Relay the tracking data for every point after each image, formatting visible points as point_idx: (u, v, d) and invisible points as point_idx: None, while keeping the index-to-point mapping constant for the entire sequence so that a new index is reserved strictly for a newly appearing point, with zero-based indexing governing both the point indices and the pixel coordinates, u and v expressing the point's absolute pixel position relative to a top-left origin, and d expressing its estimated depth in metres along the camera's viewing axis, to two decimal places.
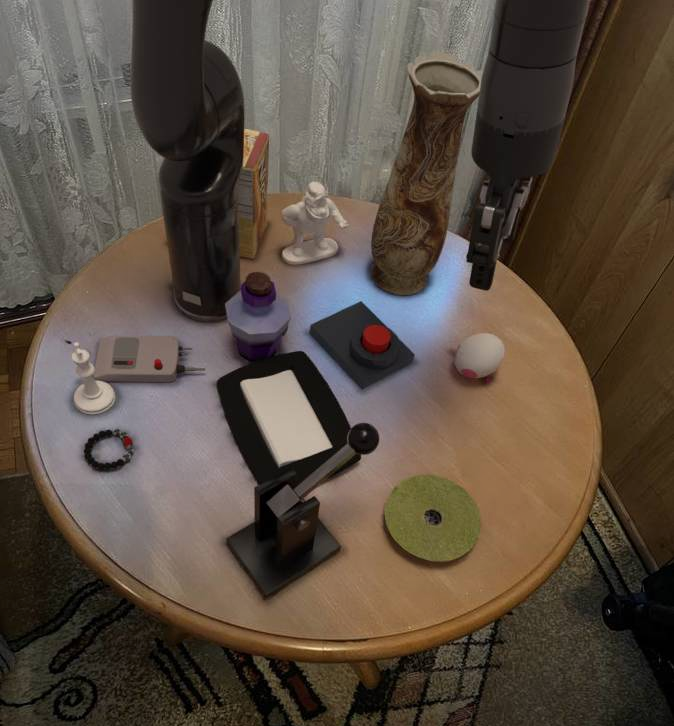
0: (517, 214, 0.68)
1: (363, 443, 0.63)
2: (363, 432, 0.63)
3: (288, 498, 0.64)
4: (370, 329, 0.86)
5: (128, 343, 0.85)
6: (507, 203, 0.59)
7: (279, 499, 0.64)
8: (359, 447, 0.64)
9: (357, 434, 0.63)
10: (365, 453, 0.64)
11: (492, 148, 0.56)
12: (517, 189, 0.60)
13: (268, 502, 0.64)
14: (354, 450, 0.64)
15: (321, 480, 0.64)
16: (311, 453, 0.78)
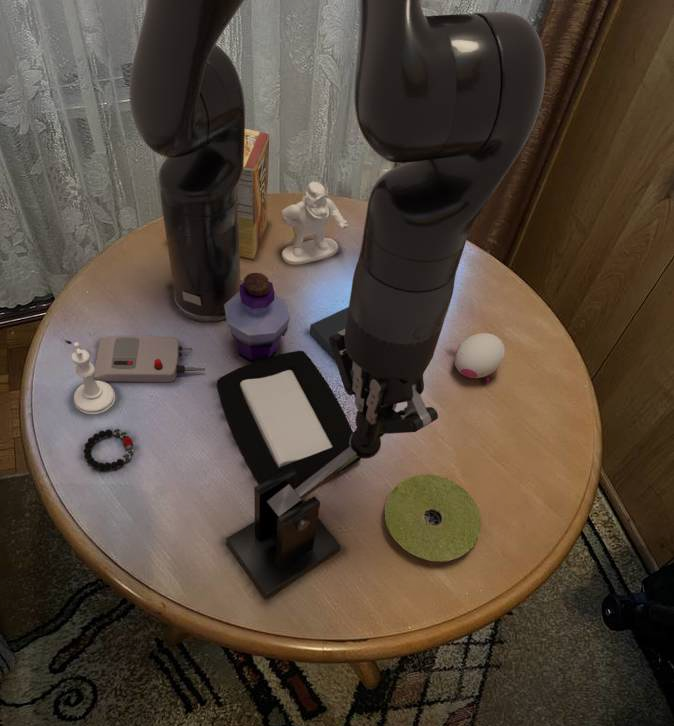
0: (365, 417, 0.61)
1: (366, 446, 0.64)
2: None
3: (289, 497, 0.64)
4: None
5: (128, 343, 0.85)
6: None
7: (280, 498, 0.64)
8: (362, 450, 0.65)
9: (360, 437, 0.64)
10: (367, 457, 0.65)
11: None
12: None
13: (269, 501, 0.64)
14: (356, 453, 0.65)
15: (322, 481, 0.65)
16: (311, 453, 0.78)
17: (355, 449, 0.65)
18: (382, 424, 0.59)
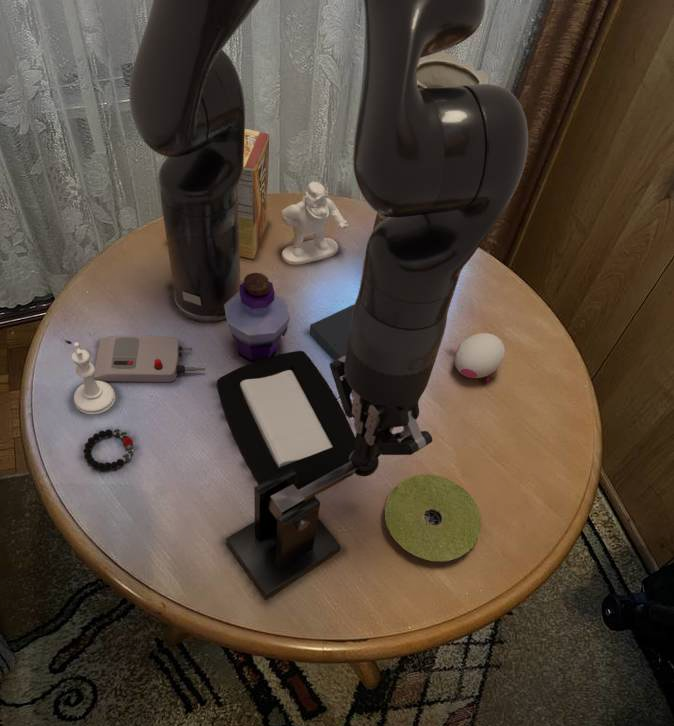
0: (364, 438, 0.65)
1: (368, 462, 0.68)
2: None
3: (293, 496, 0.64)
4: None
5: (128, 343, 0.85)
6: None
7: (284, 495, 0.64)
8: (363, 465, 0.68)
9: None
10: (365, 473, 0.68)
11: None
12: None
13: (272, 496, 0.64)
14: (357, 468, 0.68)
15: (323, 488, 0.66)
16: (311, 453, 0.78)
17: (357, 464, 0.68)
18: (380, 446, 0.62)
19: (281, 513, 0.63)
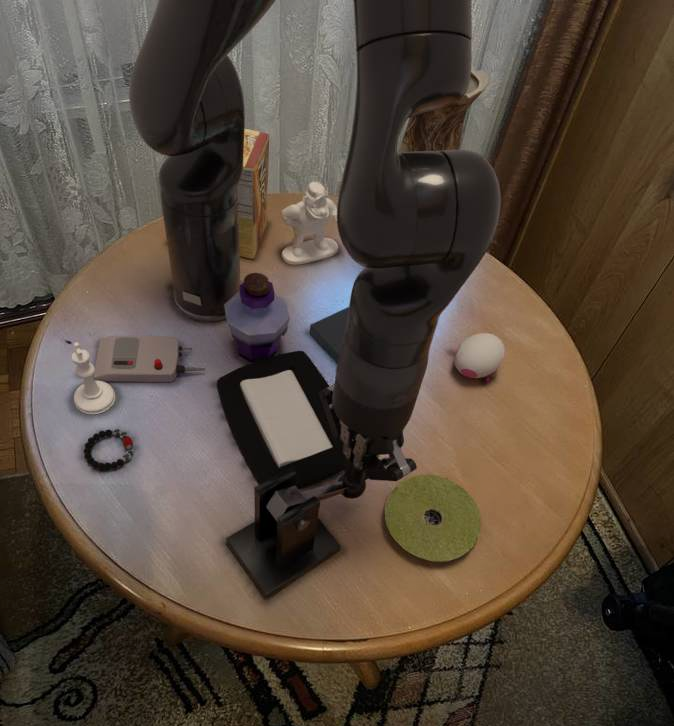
0: (352, 463, 0.67)
1: None
2: None
3: (297, 496, 0.64)
4: None
5: (128, 343, 0.85)
6: None
7: (288, 493, 0.64)
8: (355, 485, 0.70)
9: None
10: (354, 494, 0.71)
11: None
12: None
13: (277, 492, 0.63)
14: (348, 487, 0.71)
15: (318, 498, 0.67)
16: (311, 453, 0.78)
17: (348, 483, 0.70)
18: (367, 471, 0.65)
19: (285, 509, 0.63)
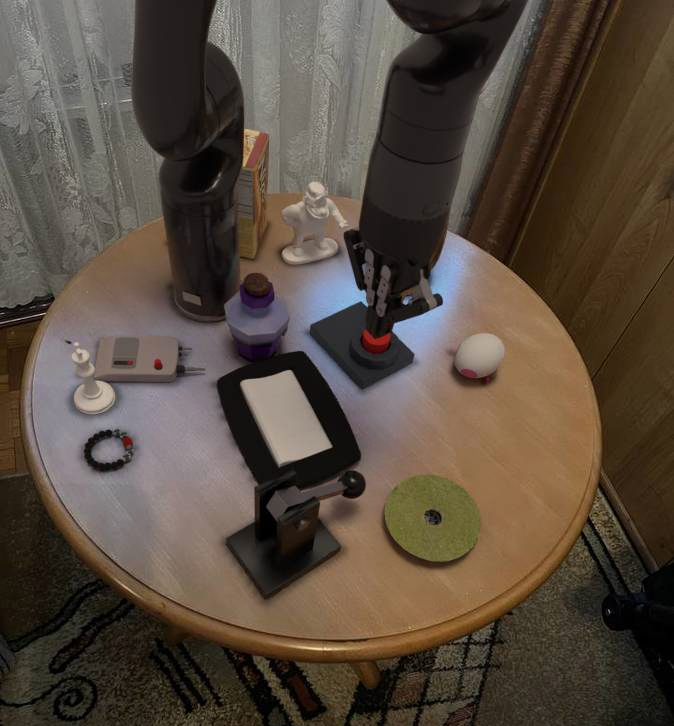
0: (375, 311, 0.66)
1: (359, 483, 0.71)
2: (360, 475, 0.71)
3: (297, 496, 0.64)
4: None
5: (128, 343, 0.85)
6: None
7: (288, 493, 0.64)
8: (355, 485, 0.70)
9: (355, 474, 0.71)
10: (354, 494, 0.71)
11: None
12: None
13: (277, 492, 0.63)
14: (348, 487, 0.71)
15: (318, 498, 0.67)
16: (311, 453, 0.78)
17: (348, 483, 0.70)
18: (391, 314, 0.63)
19: (285, 509, 0.63)
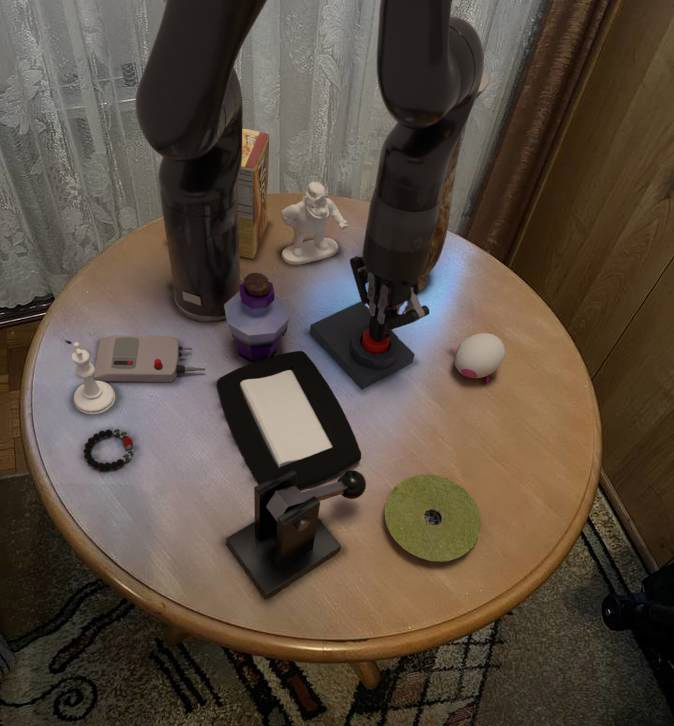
0: (376, 320, 0.83)
1: (359, 483, 0.71)
2: (360, 475, 0.71)
3: (297, 496, 0.64)
4: None
5: (128, 343, 0.85)
6: None
7: (288, 493, 0.64)
8: (355, 485, 0.70)
9: (355, 474, 0.71)
10: (354, 494, 0.71)
11: None
12: None
13: (277, 492, 0.63)
14: (348, 487, 0.71)
15: (318, 498, 0.67)
16: (311, 453, 0.78)
17: (348, 483, 0.70)
18: (389, 322, 0.80)
19: (285, 509, 0.63)
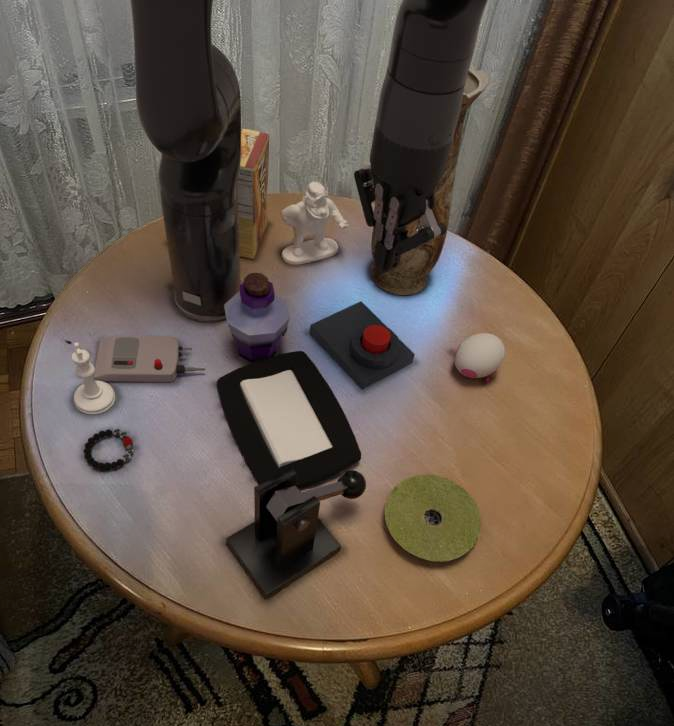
0: (383, 245, 0.72)
1: (359, 483, 0.71)
2: (360, 475, 0.71)
3: (297, 496, 0.64)
4: (370, 329, 0.86)
5: (128, 343, 0.85)
6: (371, 169, 0.68)
7: (288, 493, 0.64)
8: (355, 485, 0.70)
9: (355, 474, 0.71)
10: (354, 494, 0.71)
11: None
12: (384, 182, 0.67)
13: (277, 492, 0.63)
14: (348, 487, 0.71)
15: (318, 498, 0.67)
16: (311, 453, 0.78)
17: (348, 483, 0.70)
18: (398, 245, 0.70)
19: (285, 509, 0.63)
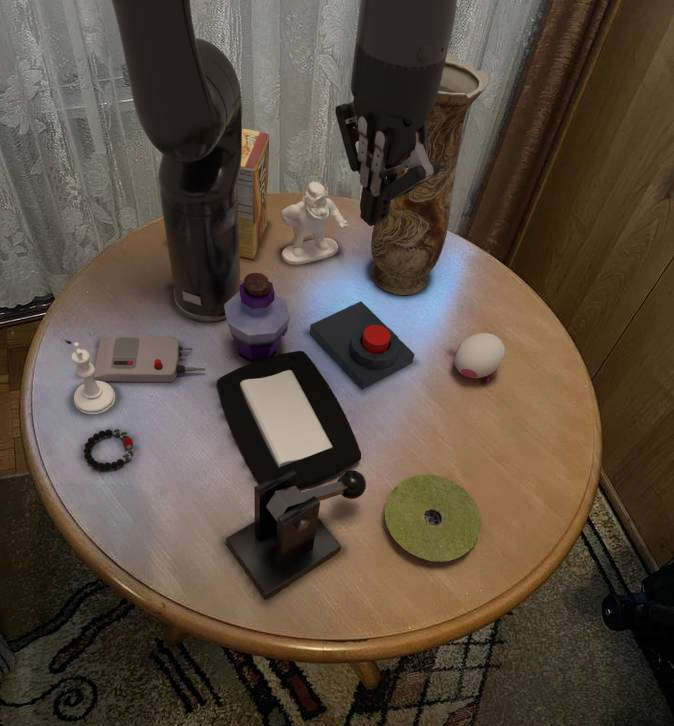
0: (369, 192, 0.64)
1: (359, 483, 0.71)
2: (360, 475, 0.71)
3: (297, 496, 0.64)
4: (370, 329, 0.86)
5: (128, 343, 0.85)
6: (353, 101, 0.59)
7: (288, 493, 0.64)
8: (355, 485, 0.70)
9: (355, 474, 0.71)
10: (354, 494, 0.71)
11: None
12: (368, 114, 0.58)
13: (277, 492, 0.63)
14: (348, 487, 0.71)
15: (318, 498, 0.67)
16: (311, 453, 0.78)
17: (348, 483, 0.70)
18: (386, 190, 0.61)
19: (285, 509, 0.63)
